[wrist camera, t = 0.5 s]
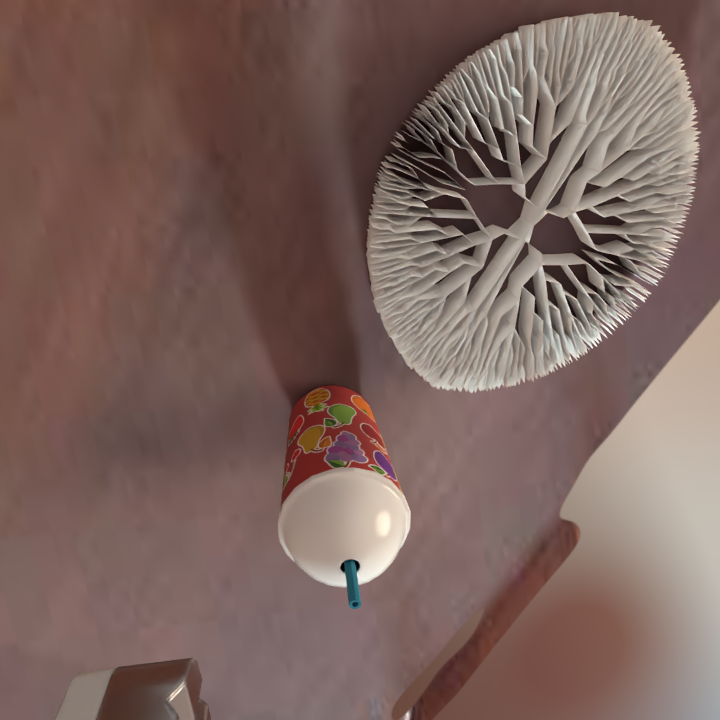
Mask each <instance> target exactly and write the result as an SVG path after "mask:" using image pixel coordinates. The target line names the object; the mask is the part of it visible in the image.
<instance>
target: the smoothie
mask: <svg viewBox="0 0 720 720" xmlns="http://www.w3.org/2000/svg"><path fill="white" fill-rule="evenodd" d="M410 517H411V512H410V509H409V506H408V504H407V501H406V499H405V496H404V494H403V493H402V490H401V488H400V485H399V482H398V480H397V477H396V474H395V472H394V469H393V466H392V464H391V461H390V458H389V456H388V453H387V450H386V448H385V445H384V443H383V440H382V437H381V435H380V432H379V429H378V427H377V424H376V421H375V419H374V416H373V413H372V411H371V408H370V406H369V404H368V403H367V401H366V400H365V399H364V398H363V397H362V396H361V395H360V394H358V393H356V392H354V391H352V390H350V389H348V388H345V387H341V386H336V385H329V386H322V387H319V388H316V389H314V390H312V391H311V392H309V393H308V394H306V395H305V396H304V397H302V398H301V399H300V400H299V401H298V402H297V404H296V405H295V407H294V408H293V410H292V412H291V416H290V419H289V426H288V435H287V445H286V455H285V464H284V474H283V483H282V493H281V502H280V512H279V518H278V522H277V526H278V538H279V541H280V543H281V545H282V547H283V549H284V550H285V552H286V554H287V555H288V556H289V557H290V558H291V559H292V560H294V561H295V562H296V563H297V565H298V566H299V567H300V568H301V569H302V570H303V571H305V572H306V573H307V574H308V575H309V576H310V577H312V578H313V579H315V580H317V581H319V582H322V583H324V584H326V585H330V586H337V587H347V592H348V600H349V606H350V608H352V609H357V608H359V607H360V606H361V599H360V592H359V585H361V584H364V583H367V582H369V581H371V580H373V579H374V578H376V577H377V576H379V575H380V574H382V573H383V572H384V571H385V570H386V569H387V568H388V566H389V565H390V564H391V563H392V562H393V561H394V559H395V558H396V556H397V554H398V551H399V549H400V548H401V547H402V546H403V544H404V542H405V539H406V537H407V535H408V532H409V530H410Z"/></svg>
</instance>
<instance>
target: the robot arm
mask: <svg viewBox="0 0 720 720" xmlns="http://www.w3.org/2000/svg"><path fill="white" fill-rule="evenodd" d="M201 683H202V677H201V674H200V670H199V666H198V663H197V660H195V659H193V658H188V659H180V660H172V661H164V662H155V663H147V664H139V665H131V666H123V667H118V668H115V669H106V670H98V671H89V672H80V673H78V674H77V675H76V677H75V678H74V679H73V680H72V681H71V682H70V684H69V686H68V688H67V691H66V693H65V695H64V698H63V700H62V703H61V705H60V707H59V710H58V712H57V715H56V717H55V719H54V720H211V716H210V712H209V707H208V704H206V703H205V702H204V701H202V700H201V699H200V698H199V695H200V689H201Z"/></svg>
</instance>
